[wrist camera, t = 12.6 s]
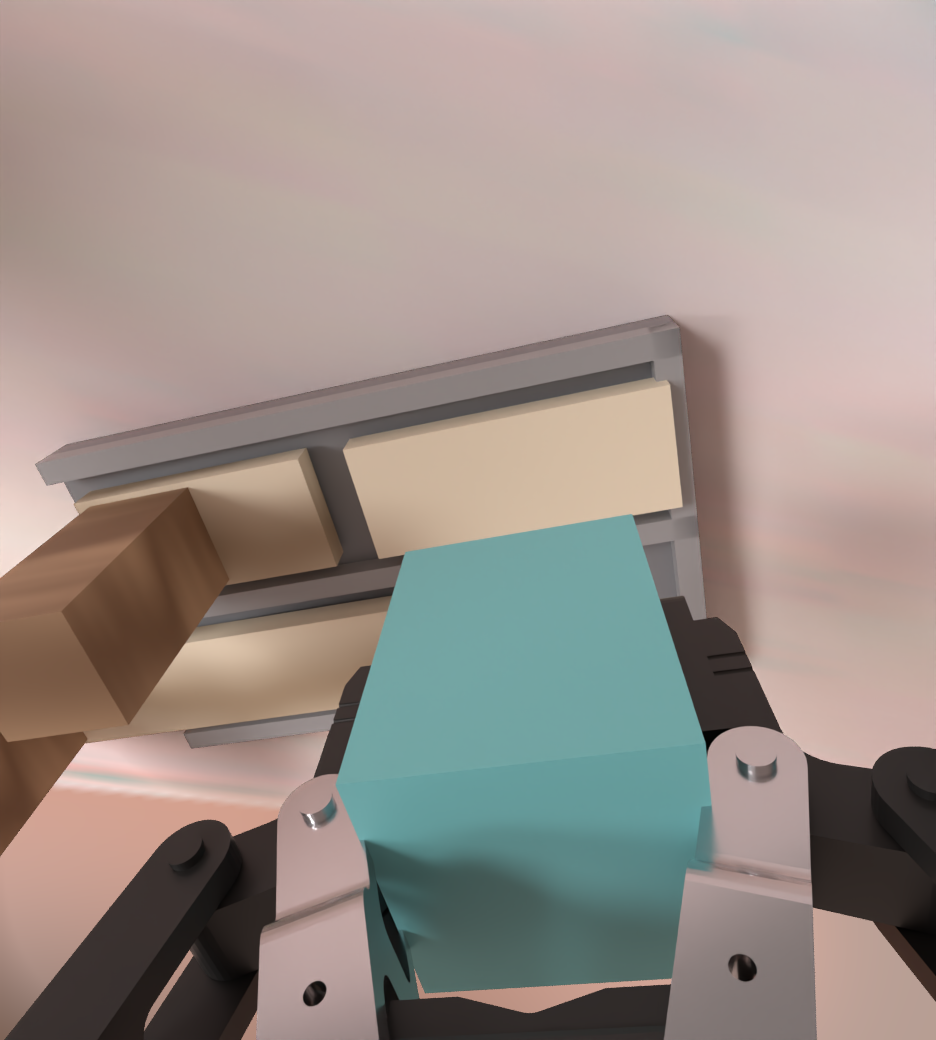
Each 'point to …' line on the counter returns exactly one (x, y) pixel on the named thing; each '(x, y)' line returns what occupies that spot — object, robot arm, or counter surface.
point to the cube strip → (215, 690)
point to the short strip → (146, 585)
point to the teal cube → (529, 762)
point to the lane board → (447, 468)
